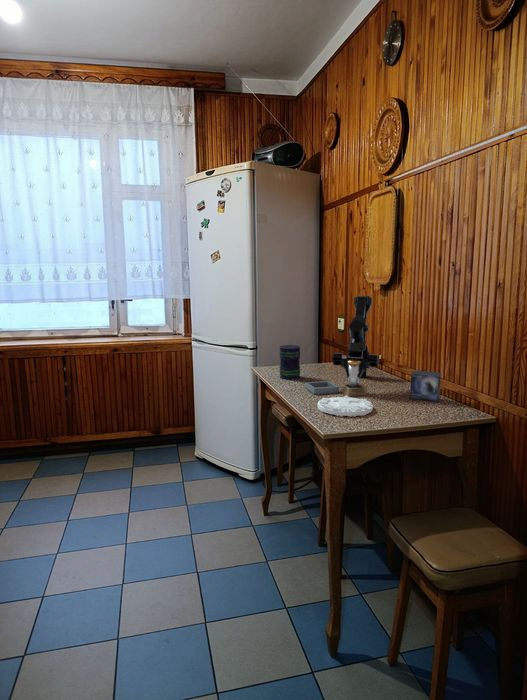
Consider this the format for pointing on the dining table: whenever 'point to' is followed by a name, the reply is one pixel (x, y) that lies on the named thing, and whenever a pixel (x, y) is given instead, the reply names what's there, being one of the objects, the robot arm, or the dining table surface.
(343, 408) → the giant coin
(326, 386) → the tray
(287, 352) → the storage jar
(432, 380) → the small box
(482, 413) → the dining table surface
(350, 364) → the pin
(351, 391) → the socket block
